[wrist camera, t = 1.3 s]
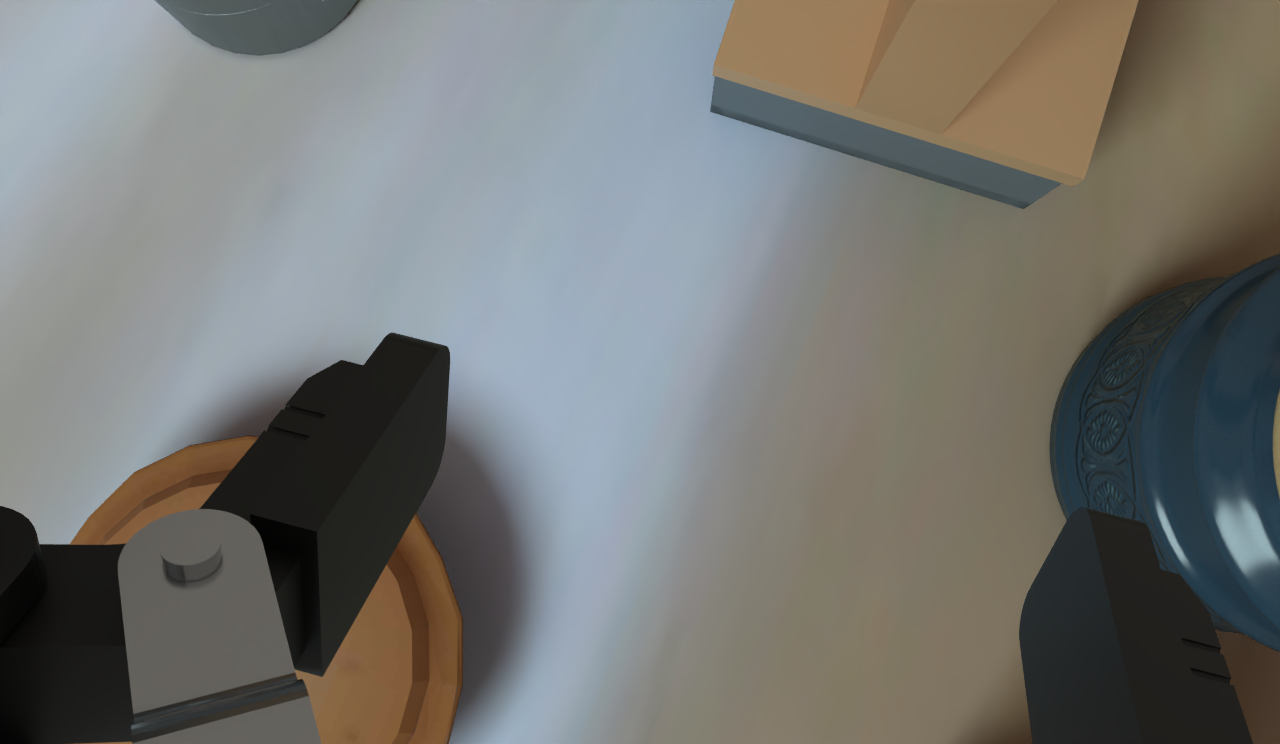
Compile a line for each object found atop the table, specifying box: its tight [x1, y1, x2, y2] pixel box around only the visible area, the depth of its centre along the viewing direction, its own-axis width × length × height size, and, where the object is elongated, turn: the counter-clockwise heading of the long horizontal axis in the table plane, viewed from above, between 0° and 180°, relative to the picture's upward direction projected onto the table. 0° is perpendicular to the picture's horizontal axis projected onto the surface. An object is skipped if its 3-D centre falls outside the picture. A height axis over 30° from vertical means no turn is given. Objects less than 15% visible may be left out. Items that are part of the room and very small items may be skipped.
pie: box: [70, 435, 463, 744], centre depth 38 cm, size 16×16×5 cm
